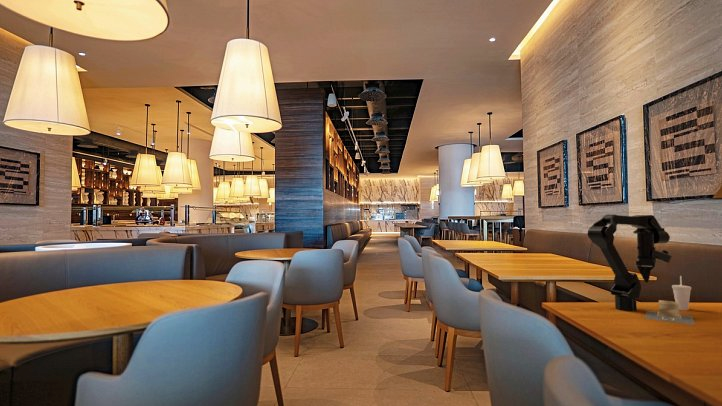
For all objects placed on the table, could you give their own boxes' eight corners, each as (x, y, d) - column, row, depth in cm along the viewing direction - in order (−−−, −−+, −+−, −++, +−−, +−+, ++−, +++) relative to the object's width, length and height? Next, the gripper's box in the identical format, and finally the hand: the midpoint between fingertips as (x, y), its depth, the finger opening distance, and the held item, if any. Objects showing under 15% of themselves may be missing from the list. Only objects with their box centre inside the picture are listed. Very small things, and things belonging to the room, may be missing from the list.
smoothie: (690, 308, 158) (689, 275, 158) (694, 311, 152) (692, 277, 153) (671, 306, 161) (669, 274, 162) (674, 309, 156) (672, 276, 156)
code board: (645, 320, 140) (645, 318, 140) (647, 312, 152) (646, 310, 152) (694, 327, 131) (694, 324, 131) (692, 318, 143) (692, 316, 143)
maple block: (659, 315, 144) (658, 302, 144) (659, 312, 148) (658, 300, 149) (679, 318, 140) (678, 304, 140) (679, 314, 145) (678, 302, 145)
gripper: (670, 246, 146) (671, 286, 145) (670, 243, 160) (671, 279, 160) (635, 245, 153) (636, 283, 152) (638, 242, 167) (639, 277, 167)
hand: (647, 280), depth 158 cm, fingers open, 9 cm apart
